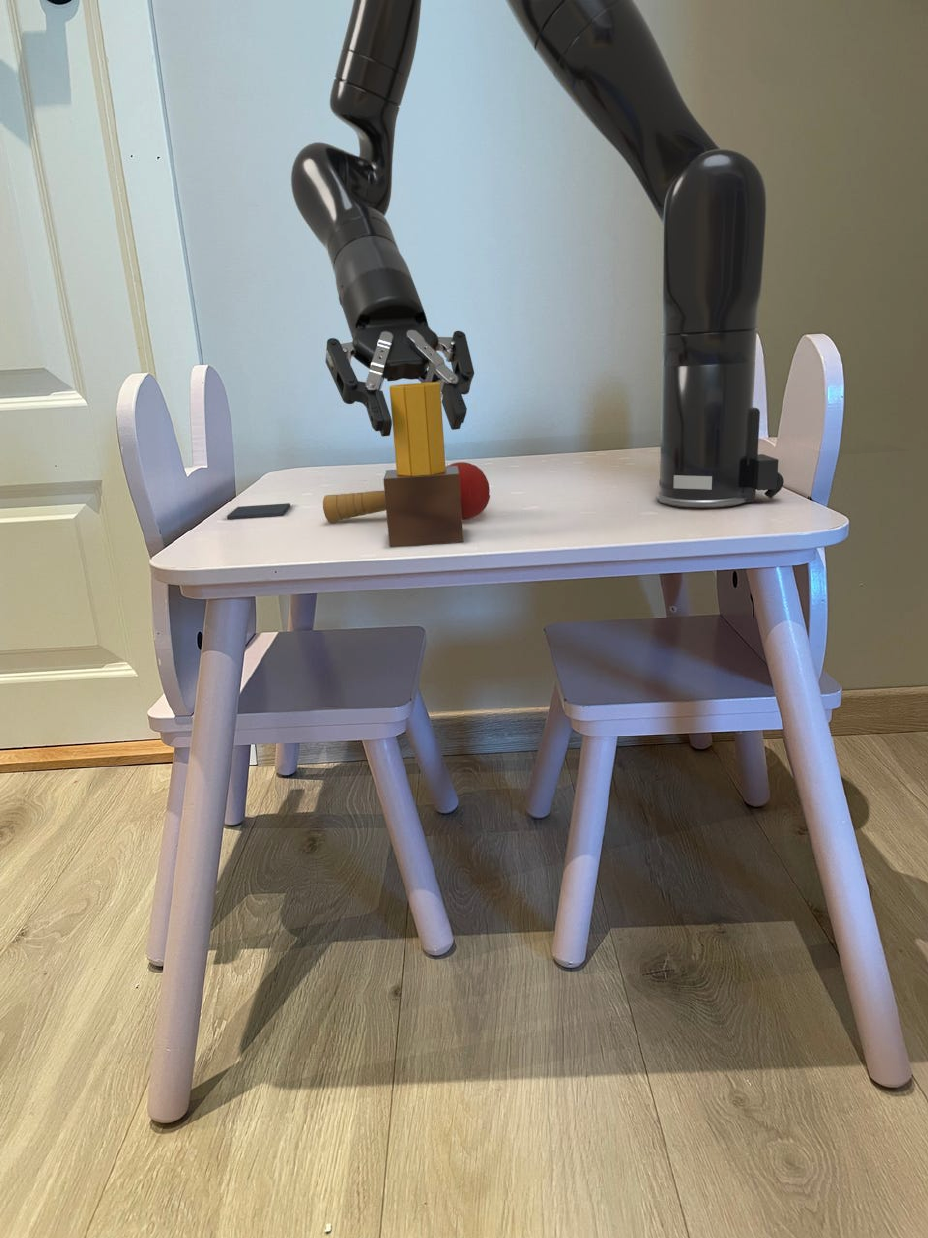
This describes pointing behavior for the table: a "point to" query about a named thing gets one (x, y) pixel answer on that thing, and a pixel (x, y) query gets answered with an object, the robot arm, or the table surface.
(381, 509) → the kendama
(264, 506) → the coaster
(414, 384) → the sleeve
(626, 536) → the table surface
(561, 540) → the table surface
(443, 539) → the stand
